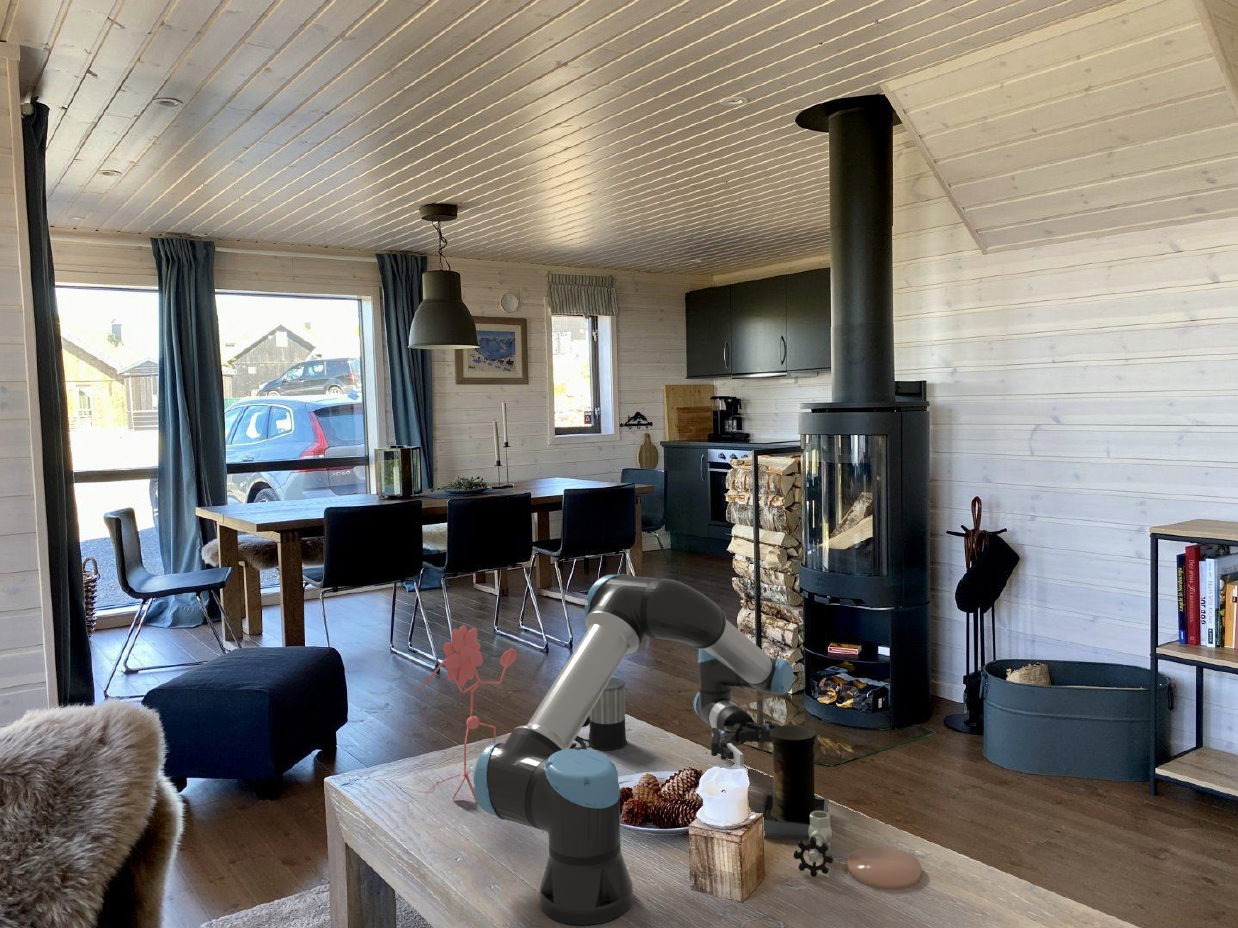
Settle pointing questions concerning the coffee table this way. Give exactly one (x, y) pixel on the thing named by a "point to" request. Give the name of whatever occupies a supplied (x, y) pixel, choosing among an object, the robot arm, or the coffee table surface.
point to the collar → (788, 828)
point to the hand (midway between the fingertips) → (773, 756)
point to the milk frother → (607, 719)
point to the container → (793, 773)
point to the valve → (816, 843)
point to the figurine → (468, 674)
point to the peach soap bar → (884, 867)
